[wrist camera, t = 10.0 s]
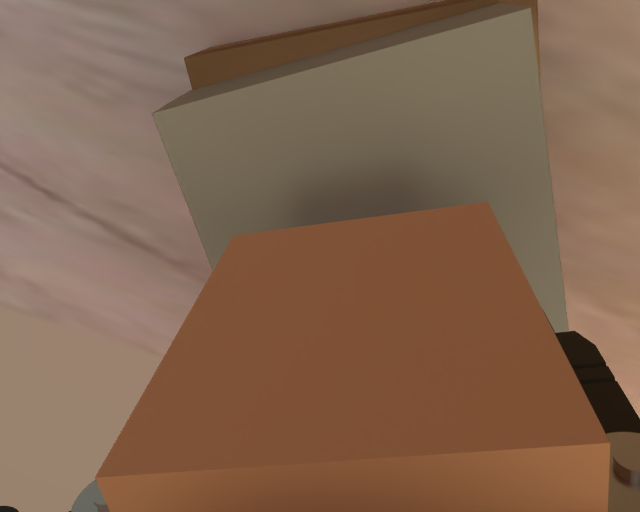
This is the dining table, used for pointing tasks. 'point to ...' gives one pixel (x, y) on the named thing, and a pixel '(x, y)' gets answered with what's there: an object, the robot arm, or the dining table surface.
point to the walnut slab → (325, 40)
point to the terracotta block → (364, 382)
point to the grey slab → (379, 139)
